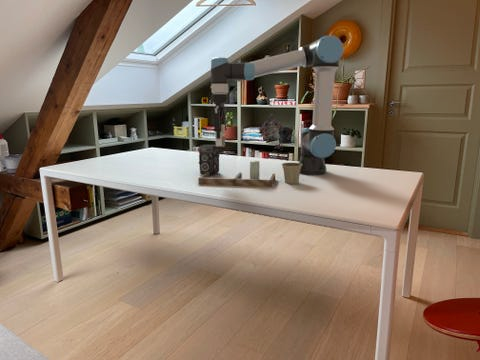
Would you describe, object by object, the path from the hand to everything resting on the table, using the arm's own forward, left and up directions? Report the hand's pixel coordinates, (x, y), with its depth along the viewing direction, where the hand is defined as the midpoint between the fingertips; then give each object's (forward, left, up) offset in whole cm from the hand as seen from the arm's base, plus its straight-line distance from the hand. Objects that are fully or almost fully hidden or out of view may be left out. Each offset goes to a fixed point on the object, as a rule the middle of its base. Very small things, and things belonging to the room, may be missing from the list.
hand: (220, 144), depth 167 cm
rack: (-8, +2, -17) cm, 19 cm away
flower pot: (-33, -1, -17) cm, 38 cm away
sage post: (-16, +1, -17) cm, 24 cm away
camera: (+10, -12, -17) cm, 24 cm away
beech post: (0, 0, -1) cm, 1 cm away
